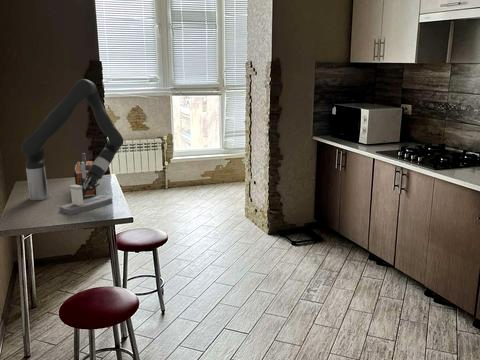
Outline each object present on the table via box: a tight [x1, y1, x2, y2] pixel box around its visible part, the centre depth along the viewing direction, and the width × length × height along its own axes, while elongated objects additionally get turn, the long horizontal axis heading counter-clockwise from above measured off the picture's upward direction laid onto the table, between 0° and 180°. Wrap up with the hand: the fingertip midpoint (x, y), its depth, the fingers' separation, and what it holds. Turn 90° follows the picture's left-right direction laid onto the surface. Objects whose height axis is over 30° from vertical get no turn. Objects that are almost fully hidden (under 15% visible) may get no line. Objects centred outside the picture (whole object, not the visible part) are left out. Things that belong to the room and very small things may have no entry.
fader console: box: [59, 194, 113, 216], centre depth 231 cm, size 24×10×3 cm, turn 142°
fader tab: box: [69, 183, 84, 206], centre depth 226 cm, size 3×6×9 cm, turn 52°
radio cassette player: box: [74, 152, 97, 198], centre depth 257 cm, size 29×10×20 cm, turn 17°
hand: (80, 196), depth 228 cm, fingers closed
